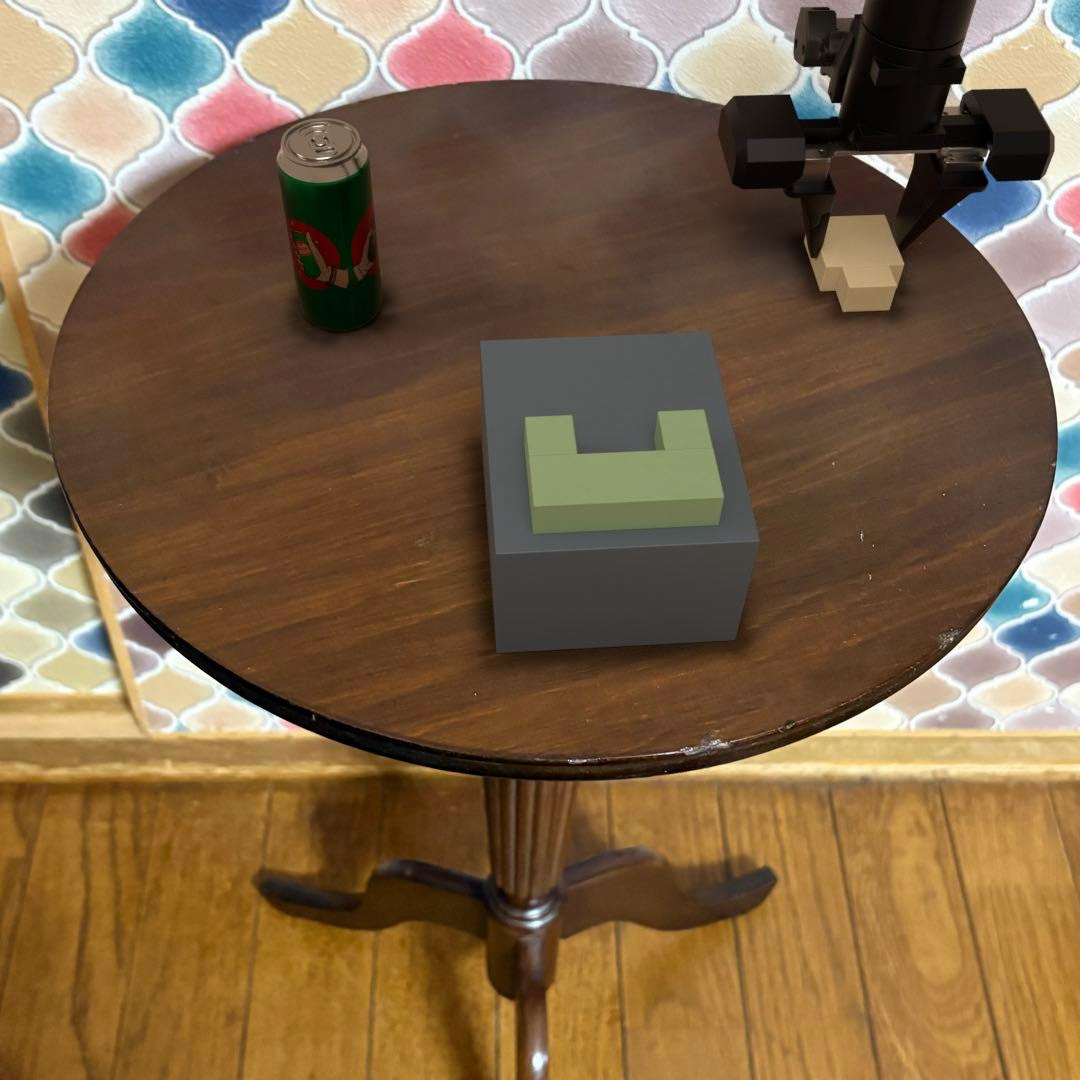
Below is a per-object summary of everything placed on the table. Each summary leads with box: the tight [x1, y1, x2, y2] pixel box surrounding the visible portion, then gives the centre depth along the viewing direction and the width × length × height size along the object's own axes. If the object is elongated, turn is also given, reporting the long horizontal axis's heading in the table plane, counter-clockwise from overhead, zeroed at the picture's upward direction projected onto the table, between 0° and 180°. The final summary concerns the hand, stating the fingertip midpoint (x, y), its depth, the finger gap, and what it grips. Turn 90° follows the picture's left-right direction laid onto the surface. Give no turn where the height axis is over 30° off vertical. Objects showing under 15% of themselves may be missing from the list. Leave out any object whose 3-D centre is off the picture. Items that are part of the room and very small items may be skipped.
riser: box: [479, 331, 761, 654], centre depth 65 cm, size 12×14×8 cm
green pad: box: [524, 410, 724, 534], centre depth 59 cm, size 8×6×2 cm, turn 95°
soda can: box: [275, 117, 384, 333], centre depth 74 cm, size 5×5×12 cm
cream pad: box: [803, 214, 905, 313], centre depth 81 cm, size 5×7×2 cm
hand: (853, 252), depth 82 cm, fingers closed on cream pad, 5 cm apart
